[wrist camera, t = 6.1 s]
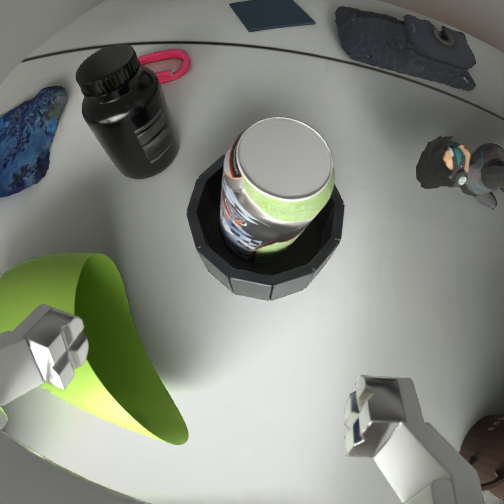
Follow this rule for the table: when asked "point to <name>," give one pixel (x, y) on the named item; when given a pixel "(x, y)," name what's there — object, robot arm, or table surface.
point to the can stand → (248, 282)
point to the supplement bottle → (127, 111)
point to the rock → (28, 139)
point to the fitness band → (166, 54)
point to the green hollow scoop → (96, 341)
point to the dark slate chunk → (406, 46)
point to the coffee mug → (487, 453)
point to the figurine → (463, 168)
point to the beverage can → (273, 187)
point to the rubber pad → (270, 14)
